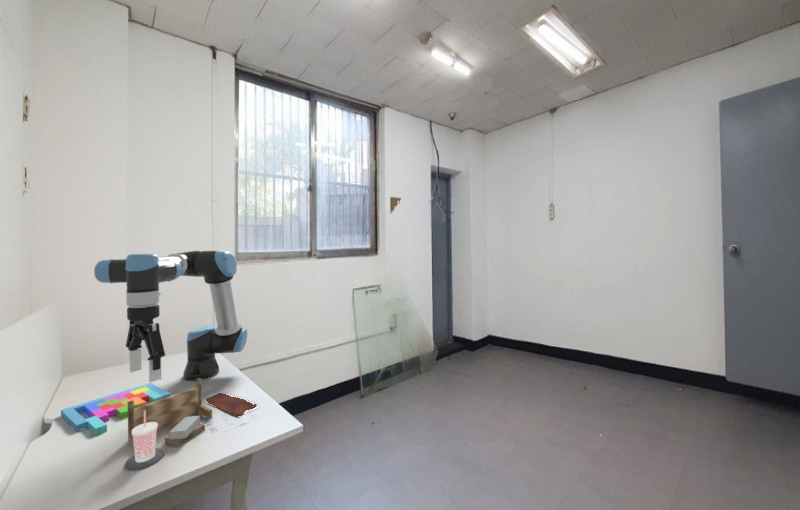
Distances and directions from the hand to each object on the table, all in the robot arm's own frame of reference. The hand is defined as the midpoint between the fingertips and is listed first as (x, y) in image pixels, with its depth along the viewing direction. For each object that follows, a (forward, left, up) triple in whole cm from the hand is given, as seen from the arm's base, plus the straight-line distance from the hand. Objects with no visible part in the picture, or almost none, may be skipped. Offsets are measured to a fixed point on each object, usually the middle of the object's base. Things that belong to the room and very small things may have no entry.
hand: (145, 375), depth 95 cm
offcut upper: (-11, -1, -23) cm, 25 cm away
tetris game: (-7, -41, -25) cm, 49 cm away
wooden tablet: (-32, -10, -25) cm, 42 cm away
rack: (-11, -9, -25) cm, 28 cm away
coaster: (+1, +2, -25) cm, 25 cm away
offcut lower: (-11, -1, -25) cm, 27 cm away
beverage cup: (+1, +2, -24) cm, 24 cm away
